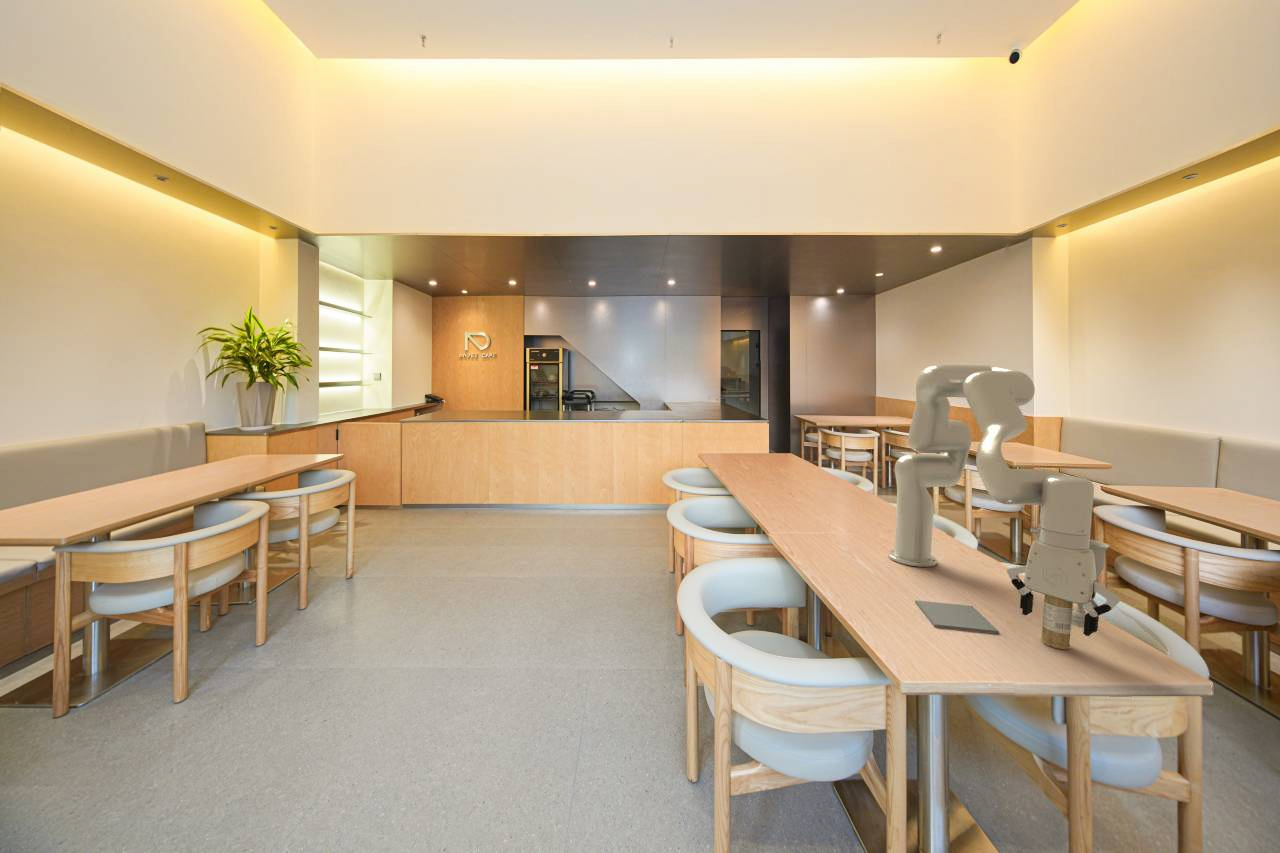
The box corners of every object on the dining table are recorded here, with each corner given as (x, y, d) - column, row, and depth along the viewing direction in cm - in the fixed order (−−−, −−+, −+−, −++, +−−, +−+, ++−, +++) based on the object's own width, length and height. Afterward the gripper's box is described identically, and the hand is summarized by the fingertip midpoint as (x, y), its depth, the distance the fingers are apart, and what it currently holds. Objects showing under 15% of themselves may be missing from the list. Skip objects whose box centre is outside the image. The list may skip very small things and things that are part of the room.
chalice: (1050, 617, 107) (1056, 538, 106) (1067, 612, 110) (1074, 535, 109) (1091, 633, 101) (1098, 549, 99) (1108, 627, 103) (1116, 545, 102)
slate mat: (915, 602, 114) (915, 600, 114) (972, 608, 112) (972, 605, 112) (934, 627, 102) (934, 624, 102) (998, 633, 100) (998, 631, 100)
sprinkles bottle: (1067, 642, 97) (1073, 577, 96) (1072, 652, 93) (1078, 585, 92) (1038, 636, 99) (1043, 572, 98) (1041, 645, 95) (1047, 579, 94)
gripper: (1003, 530, 100) (997, 610, 101) (1117, 555, 85) (1109, 648, 86) (1018, 525, 104) (1012, 602, 105) (1130, 548, 89) (1122, 637, 90)
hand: (1056, 623), depth 96 cm, fingers open, 9 cm apart
